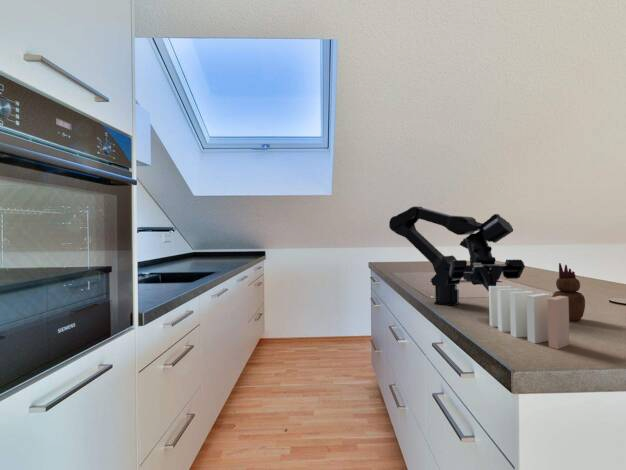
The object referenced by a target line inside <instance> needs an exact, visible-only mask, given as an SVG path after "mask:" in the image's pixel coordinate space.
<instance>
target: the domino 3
mask: <svg viewBox="0 0 626 470" xmlns="http://www.w3.org/2000/svg"><path fill="white" fill-rule="evenodd" d="M533 294H536V292H535V291H531V290H522V291H519V292H510V323H511V332H510V336H511V337H514V338H517V339H518V338H524V337H526V338H528V334H527V295H533Z"/></svg>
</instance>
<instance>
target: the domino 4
mask: <svg viewBox="0 0 626 470" xmlns="http://www.w3.org/2000/svg"><path fill="white" fill-rule="evenodd" d="M548 298H551V294H548V293H544V292H543V293H535V294H533V295H527V334H528V337H527V342H529V343H533V344H539V343H544V342H549V337H548V301H547V299H548Z"/></svg>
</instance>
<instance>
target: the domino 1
mask: <svg viewBox="0 0 626 470" xmlns="http://www.w3.org/2000/svg"><path fill="white" fill-rule="evenodd" d="M497 289H514V287H513V286H510V285H496V286H489V292H488V310H489V311H488V315H489V316H488V317H489V326H490V327H492V328H498V303H497Z"/></svg>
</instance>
